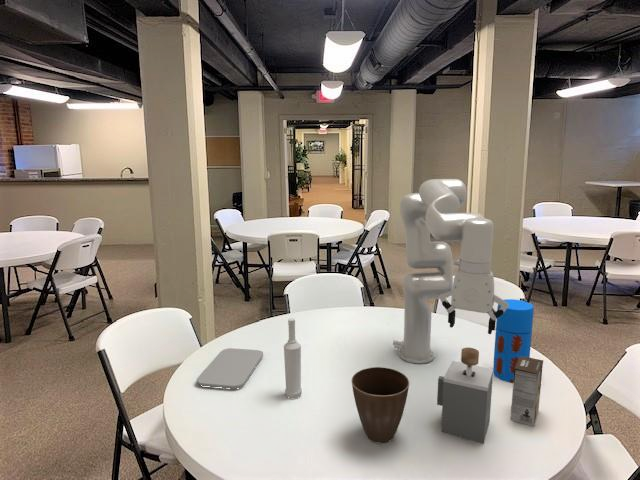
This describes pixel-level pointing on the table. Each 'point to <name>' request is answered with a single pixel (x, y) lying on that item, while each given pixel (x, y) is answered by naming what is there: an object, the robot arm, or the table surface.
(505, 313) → the thermos
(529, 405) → the coffee box
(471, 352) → the plunger
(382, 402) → the plant pot
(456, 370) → the block
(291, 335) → the bottle
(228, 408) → the table surface
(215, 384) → the tablet
